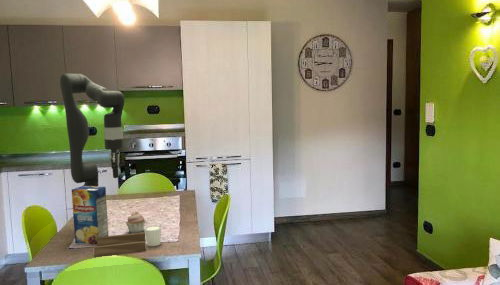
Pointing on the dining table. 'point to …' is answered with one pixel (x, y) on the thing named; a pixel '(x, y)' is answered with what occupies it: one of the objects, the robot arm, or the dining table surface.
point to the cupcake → (135, 222)
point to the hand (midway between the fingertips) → (115, 177)
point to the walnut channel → (120, 244)
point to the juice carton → (89, 214)
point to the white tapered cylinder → (153, 235)
